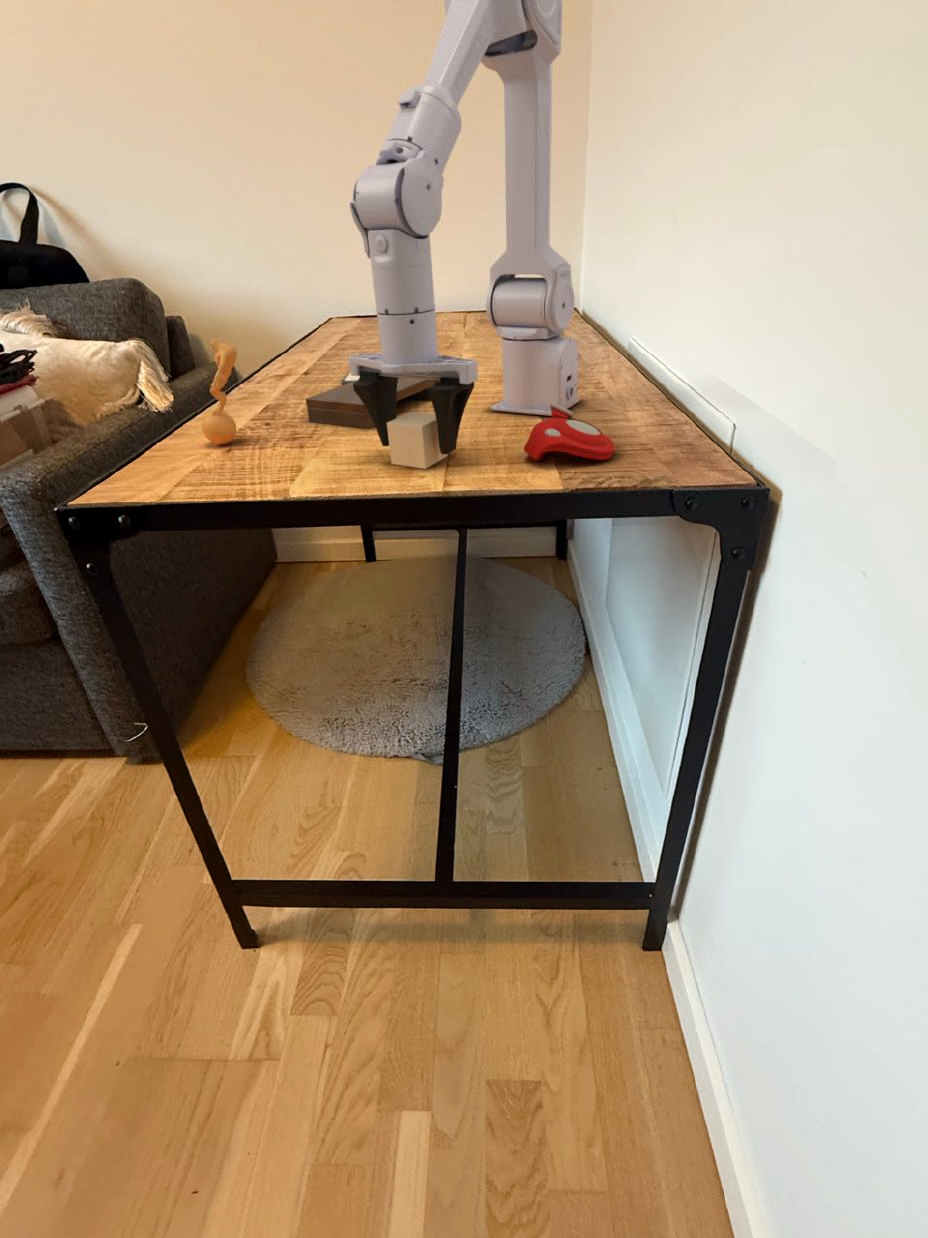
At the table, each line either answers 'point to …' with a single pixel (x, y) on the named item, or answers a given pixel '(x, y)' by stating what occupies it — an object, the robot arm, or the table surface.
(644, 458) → the table surface
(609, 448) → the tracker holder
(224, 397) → the figurine
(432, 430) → the block
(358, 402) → the shelf
